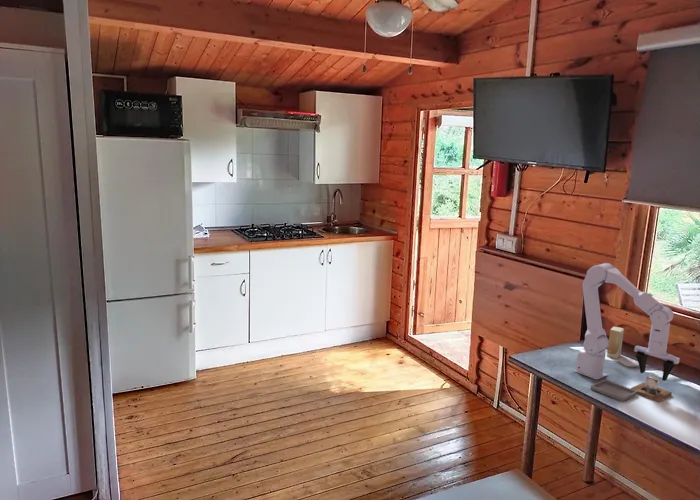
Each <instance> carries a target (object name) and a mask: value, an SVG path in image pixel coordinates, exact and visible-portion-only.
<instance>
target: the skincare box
mask: <svg viewBox="0 0 700 500" xmlns="http://www.w3.org/2000/svg"><path fill="white" fill-rule="evenodd" d="M624 331H625V328H622V327H619V326H612V327H611V328H610V330H609V335H608V337H609V338H608V340H609V347H608V348H607V350H606V356H607V357H609V358H614V359H618V358H619V357H620V356H621V354H622V348H623V347H622V346H623V339H624V333H625V332H624Z"/></svg>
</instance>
